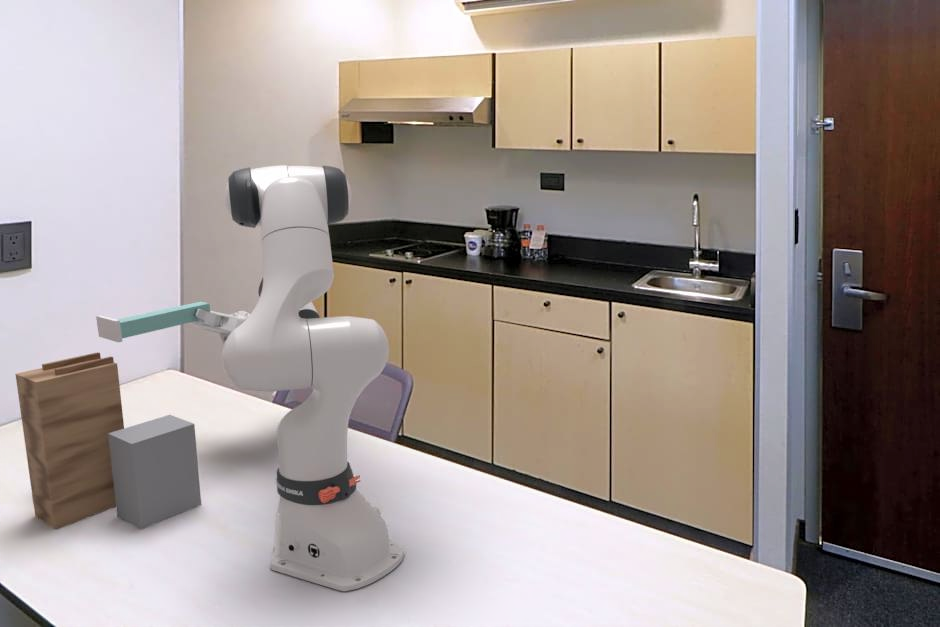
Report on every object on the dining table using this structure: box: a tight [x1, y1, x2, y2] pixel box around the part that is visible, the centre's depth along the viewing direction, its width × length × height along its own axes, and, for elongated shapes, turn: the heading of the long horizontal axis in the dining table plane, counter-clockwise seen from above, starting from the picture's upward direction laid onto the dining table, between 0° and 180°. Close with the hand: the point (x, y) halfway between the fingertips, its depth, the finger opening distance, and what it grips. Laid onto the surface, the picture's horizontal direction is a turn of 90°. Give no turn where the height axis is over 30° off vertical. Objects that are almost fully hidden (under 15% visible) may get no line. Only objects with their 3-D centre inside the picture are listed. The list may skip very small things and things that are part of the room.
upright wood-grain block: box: [15, 352, 125, 530], centre depth 137 cm, size 8×14×28 cm, turn 143°
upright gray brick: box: [108, 414, 202, 530], centre depth 137 cm, size 8×12×16 cm, turn 143°
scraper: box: [95, 301, 211, 343], centre depth 147 cm, size 7×21×4 cm, turn 143°
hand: (189, 310), depth 152 cm, fingers closed on scraper, 3 cm apart
